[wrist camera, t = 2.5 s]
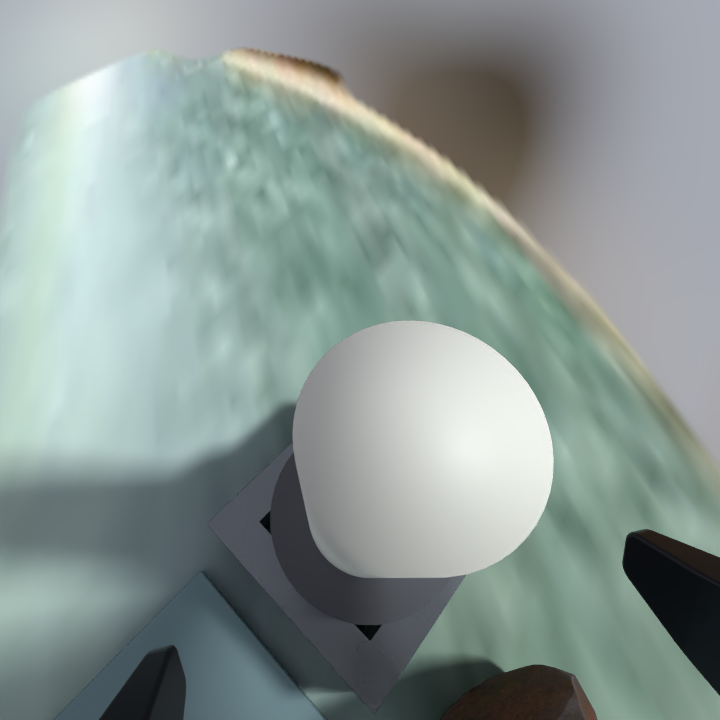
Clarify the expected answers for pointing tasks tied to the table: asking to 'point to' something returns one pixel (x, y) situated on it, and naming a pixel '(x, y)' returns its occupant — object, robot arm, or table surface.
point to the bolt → (525, 697)
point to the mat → (205, 664)
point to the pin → (407, 470)
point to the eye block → (328, 635)
